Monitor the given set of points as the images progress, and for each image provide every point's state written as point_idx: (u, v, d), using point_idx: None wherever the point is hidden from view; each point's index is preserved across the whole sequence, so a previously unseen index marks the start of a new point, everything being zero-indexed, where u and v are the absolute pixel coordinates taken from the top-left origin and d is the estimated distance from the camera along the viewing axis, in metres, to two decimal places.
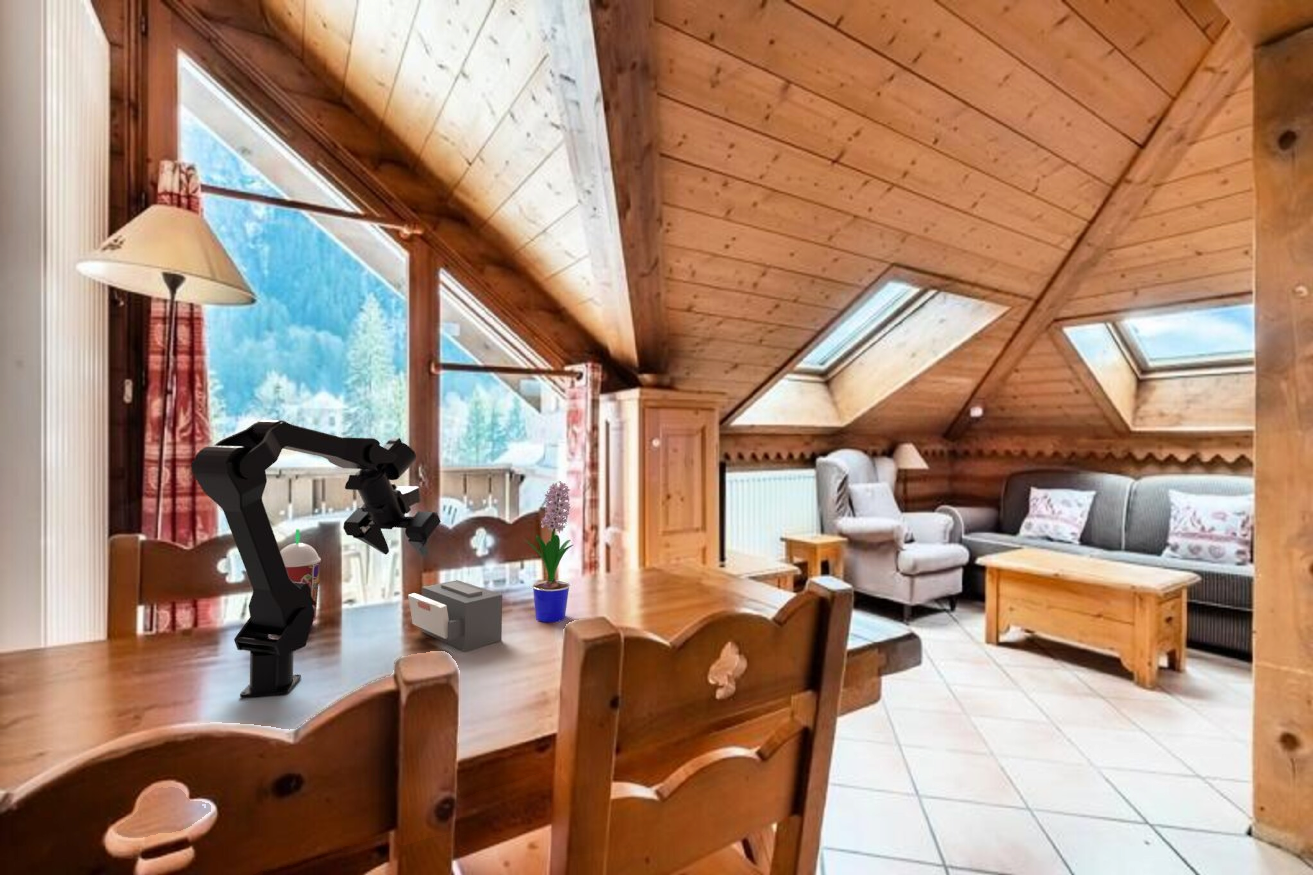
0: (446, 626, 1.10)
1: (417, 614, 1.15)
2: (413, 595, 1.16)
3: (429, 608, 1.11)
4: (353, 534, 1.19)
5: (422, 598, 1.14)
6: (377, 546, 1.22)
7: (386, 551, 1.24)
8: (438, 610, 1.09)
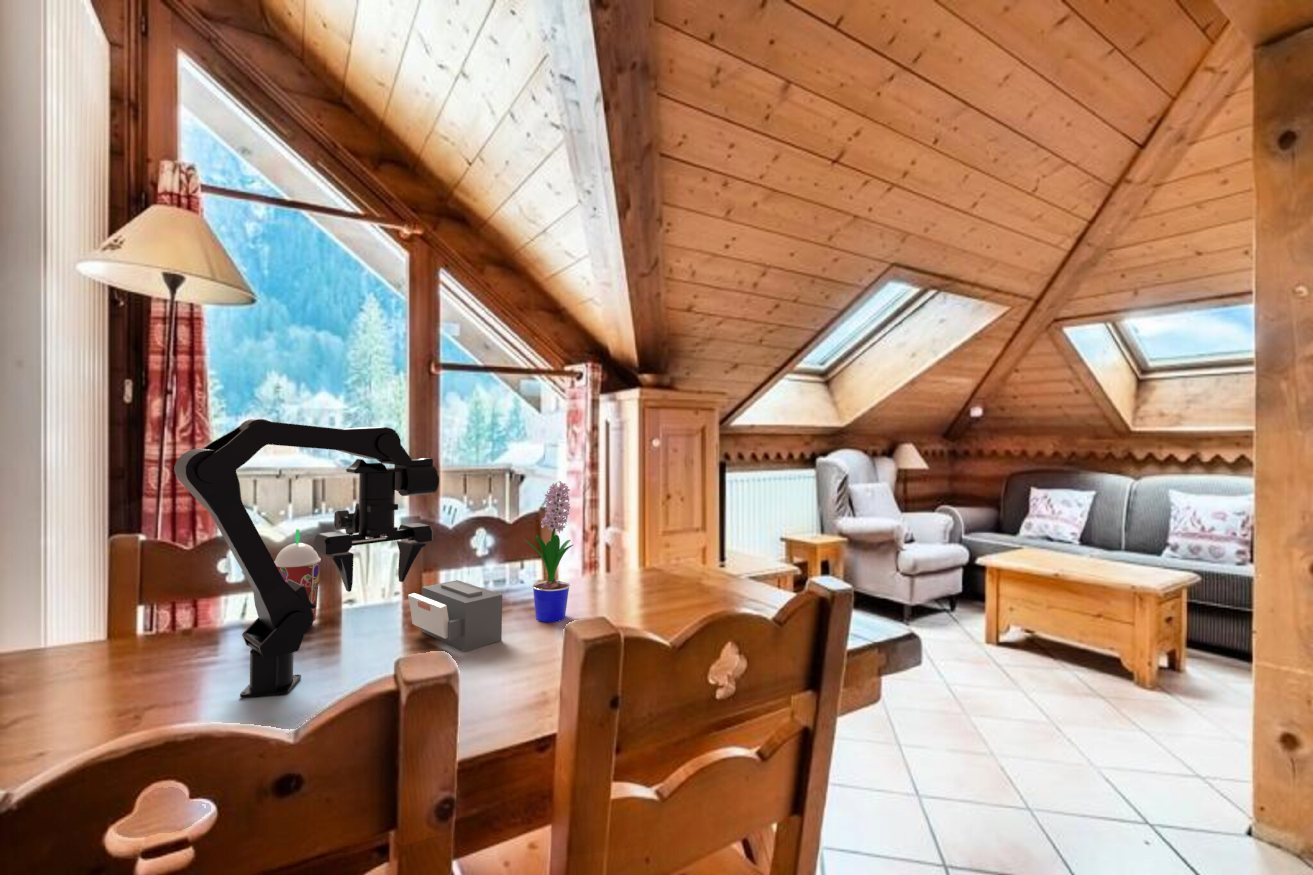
0: (446, 626, 1.10)
1: (417, 614, 1.15)
2: (413, 595, 1.16)
3: (429, 608, 1.11)
4: (341, 551, 0.98)
5: (422, 598, 1.14)
6: None
7: None
8: (438, 610, 1.09)
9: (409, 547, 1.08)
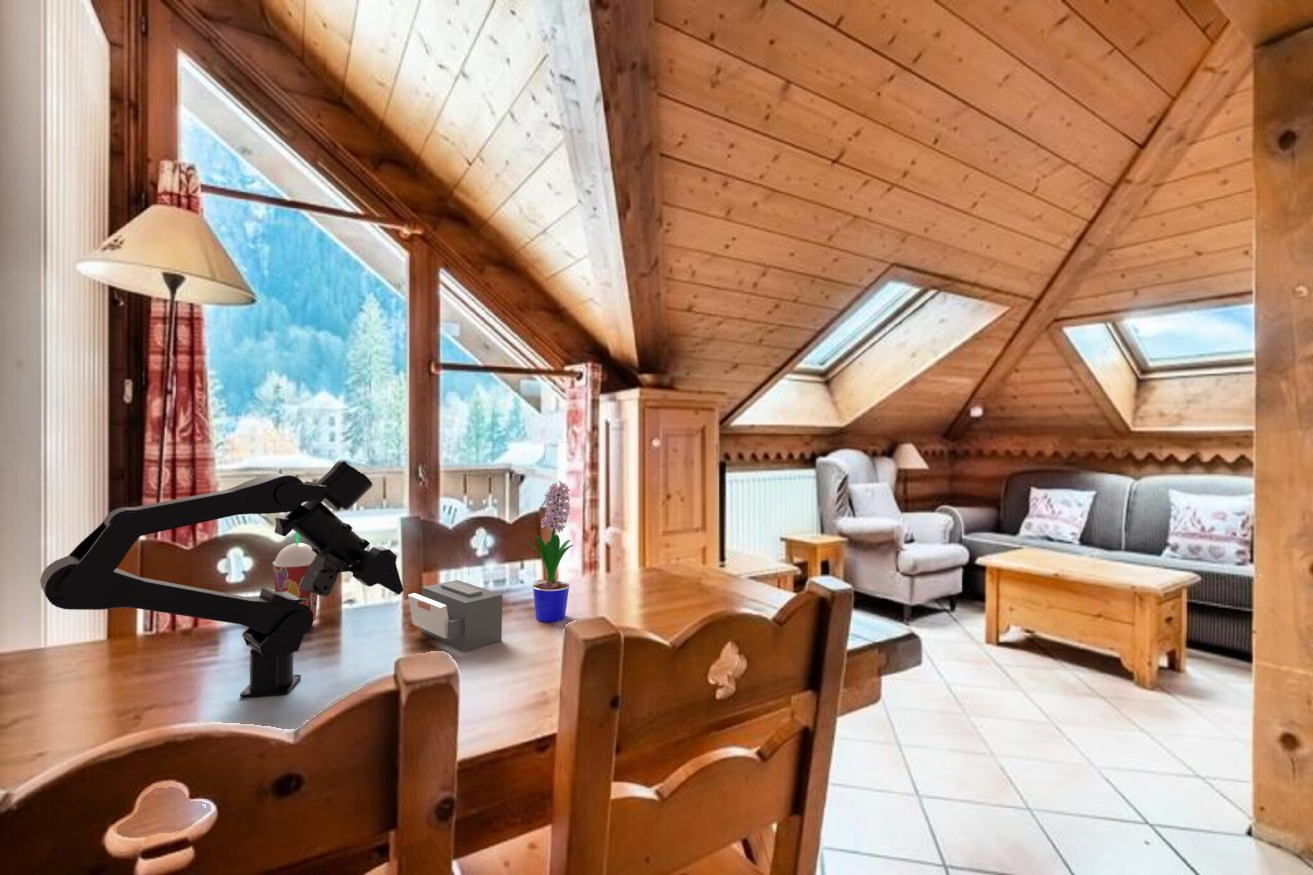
0: (446, 626, 1.10)
1: (417, 614, 1.15)
2: (413, 595, 1.16)
3: (429, 608, 1.11)
4: None
5: (422, 598, 1.14)
6: None
7: None
8: (438, 610, 1.09)
9: None
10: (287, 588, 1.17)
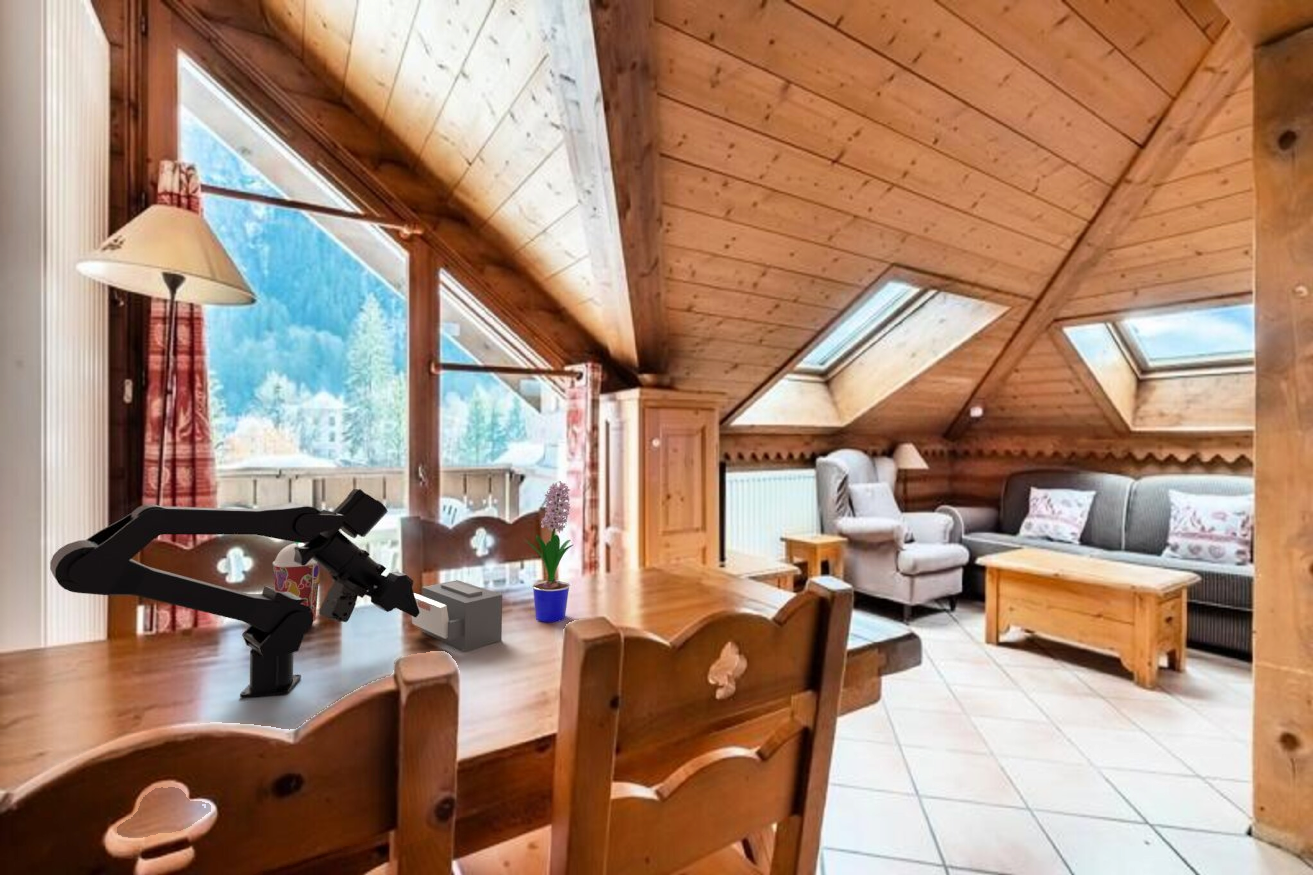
0: (446, 626, 1.10)
1: None
2: None
3: (429, 608, 1.11)
4: None
5: (422, 598, 1.14)
6: None
7: None
8: (438, 610, 1.09)
9: None
10: (287, 588, 1.17)
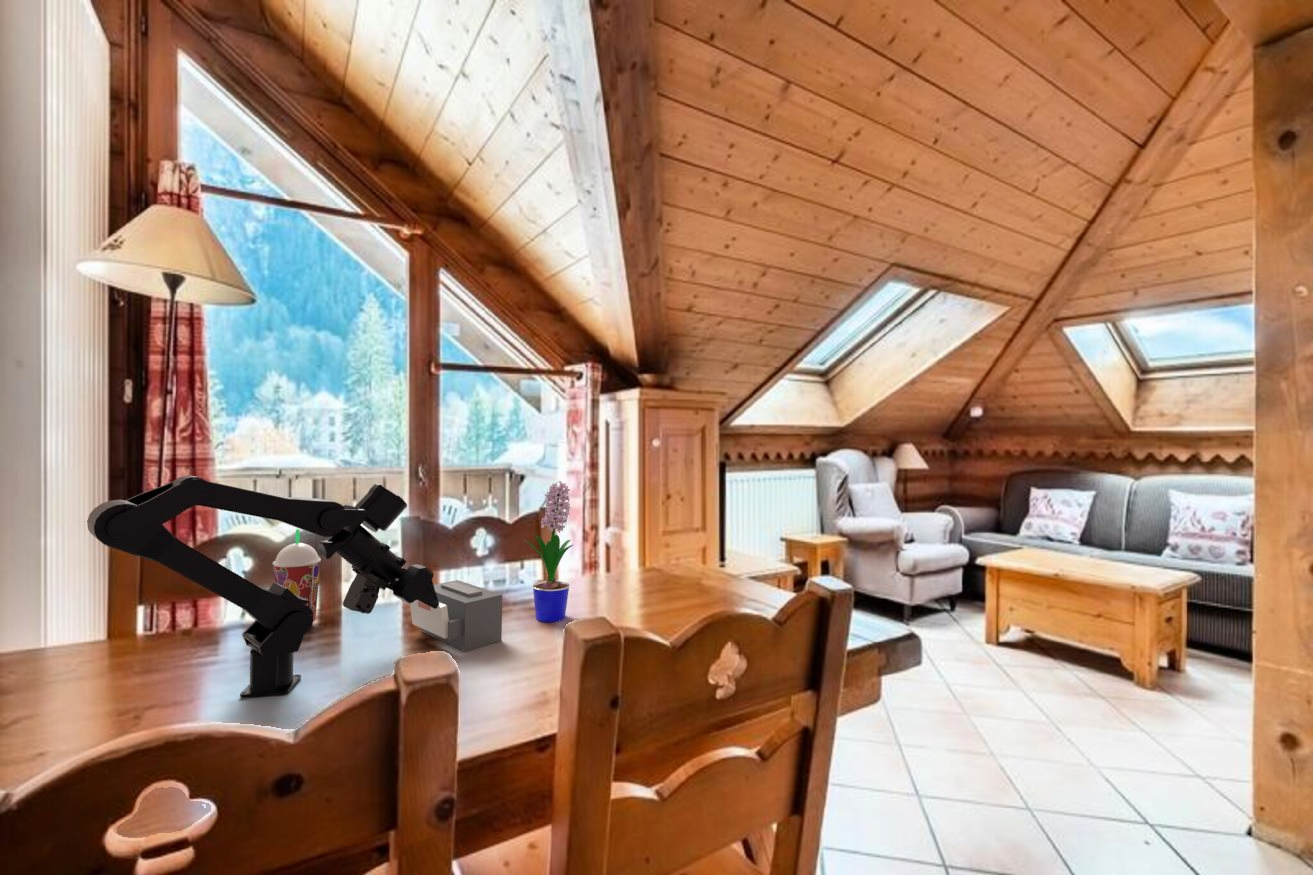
0: (446, 626, 1.10)
1: (417, 614, 1.15)
2: None
3: (429, 608, 1.11)
4: None
5: None
6: None
7: None
8: (438, 610, 1.09)
9: None
10: (287, 588, 1.17)
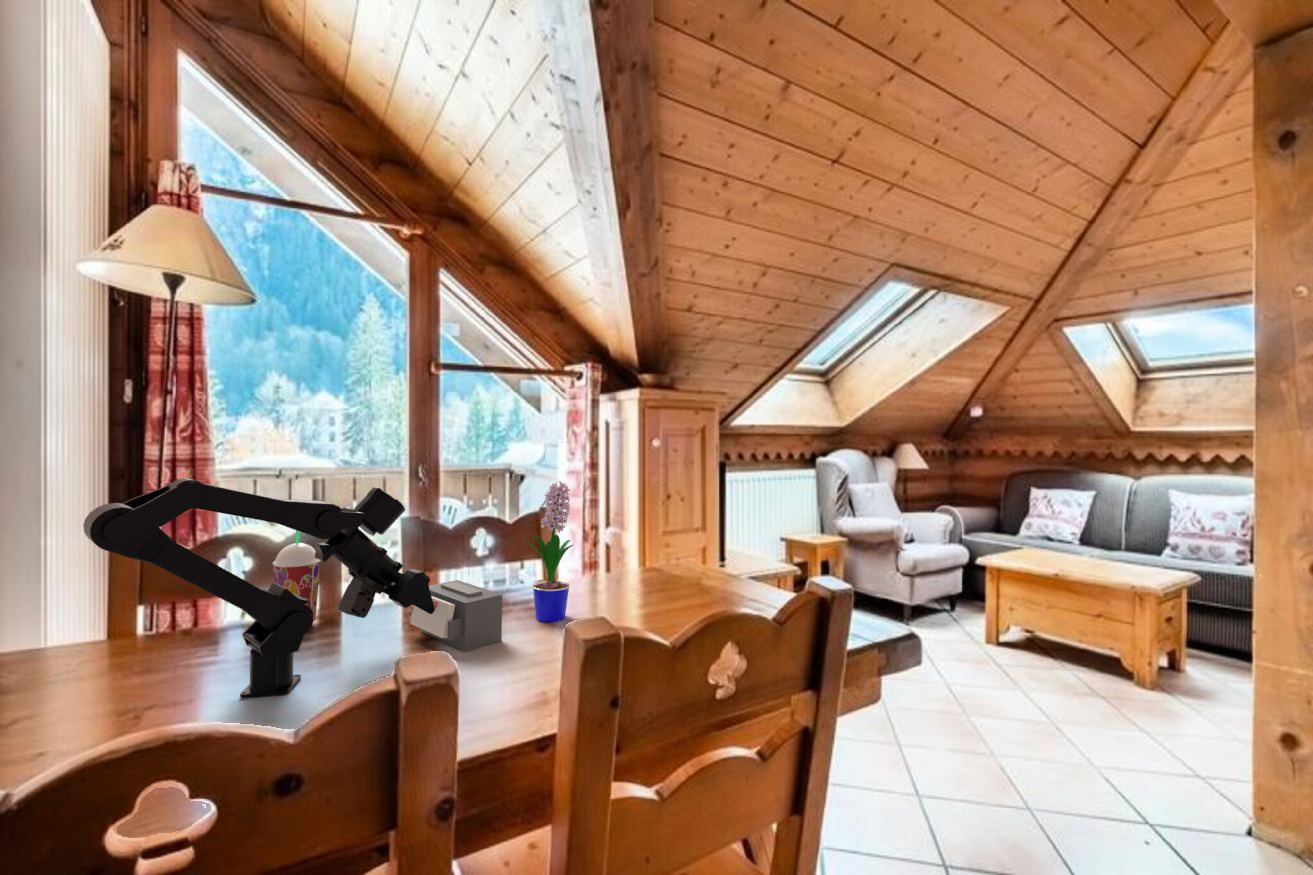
0: (447, 626, 1.10)
1: (419, 612, 1.15)
2: None
3: (436, 605, 1.12)
4: None
5: (431, 596, 1.15)
6: None
7: None
8: (446, 607, 1.10)
9: None
10: (287, 588, 1.17)
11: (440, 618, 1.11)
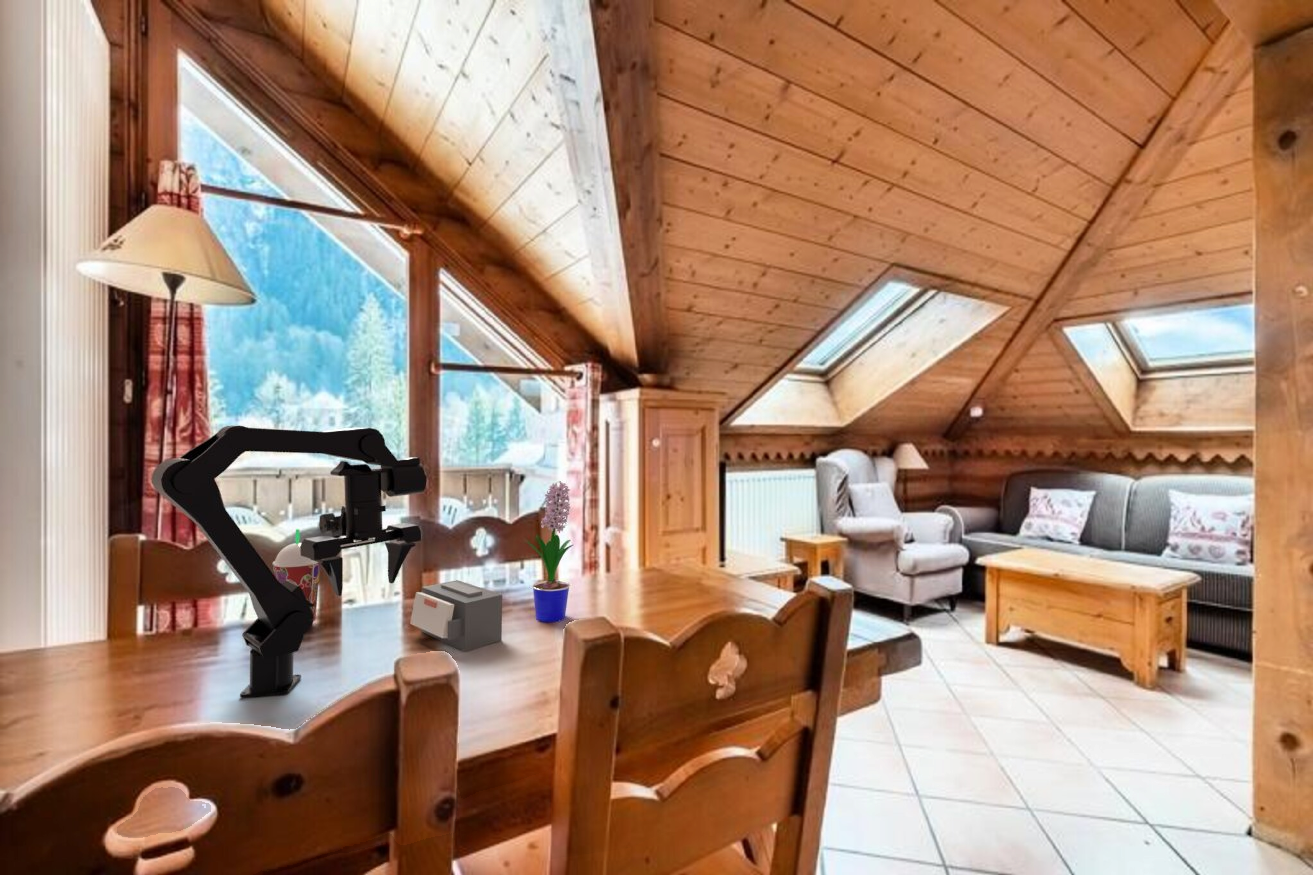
0: (447, 626, 1.10)
1: (419, 613, 1.15)
2: (421, 593, 1.17)
3: (435, 605, 1.12)
4: (330, 555, 0.97)
5: (430, 596, 1.15)
6: None
7: None
8: (445, 607, 1.10)
9: (398, 548, 1.07)
10: None
11: (440, 618, 1.11)
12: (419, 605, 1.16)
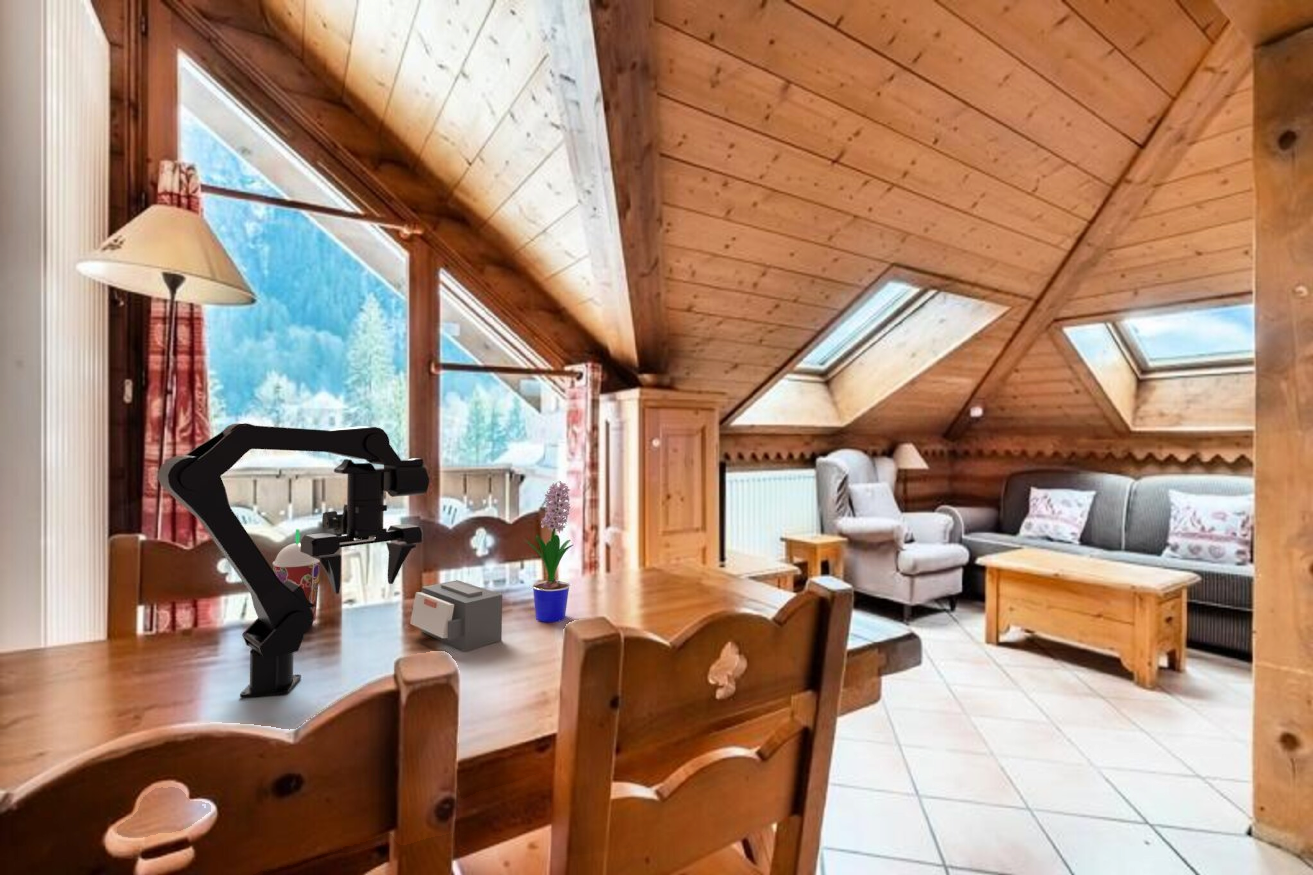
0: (447, 626, 1.10)
1: (419, 613, 1.15)
2: (421, 593, 1.17)
3: (435, 605, 1.12)
4: (328, 552, 0.97)
5: (430, 596, 1.15)
6: None
7: None
8: (445, 607, 1.10)
9: (398, 548, 1.07)
10: None
11: (440, 618, 1.11)
12: (419, 605, 1.16)
